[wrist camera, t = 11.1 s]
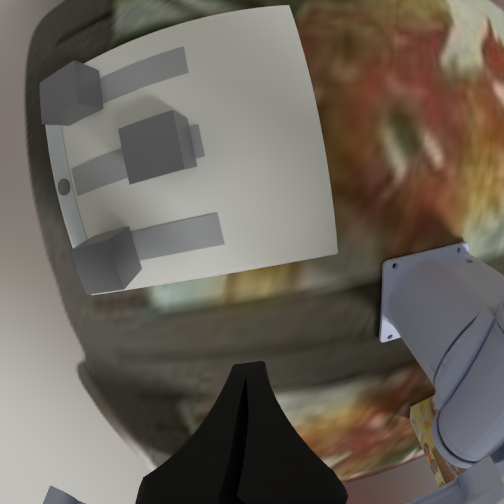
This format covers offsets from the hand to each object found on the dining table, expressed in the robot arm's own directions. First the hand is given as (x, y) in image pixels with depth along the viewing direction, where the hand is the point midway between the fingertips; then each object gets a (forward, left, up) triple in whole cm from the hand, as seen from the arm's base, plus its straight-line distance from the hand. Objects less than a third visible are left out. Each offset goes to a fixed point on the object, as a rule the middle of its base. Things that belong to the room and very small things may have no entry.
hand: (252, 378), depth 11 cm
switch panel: (+3, -11, -9) cm, 14 cm away
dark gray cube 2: (+3, -10, -7) cm, 13 cm away
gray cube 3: (+8, -16, -7) cm, 19 cm away
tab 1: (+8, -5, -7) cm, 12 cm away
